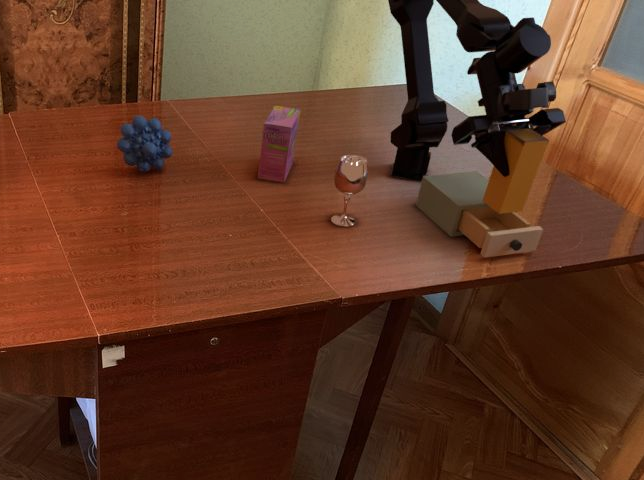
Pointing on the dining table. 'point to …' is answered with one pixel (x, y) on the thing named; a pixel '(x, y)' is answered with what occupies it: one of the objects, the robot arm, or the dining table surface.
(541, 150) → the carton
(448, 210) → the cabinet
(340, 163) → the wineglass
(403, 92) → the dining table surface
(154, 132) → the blue knobby rounded piece
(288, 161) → the box
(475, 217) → the drawer
